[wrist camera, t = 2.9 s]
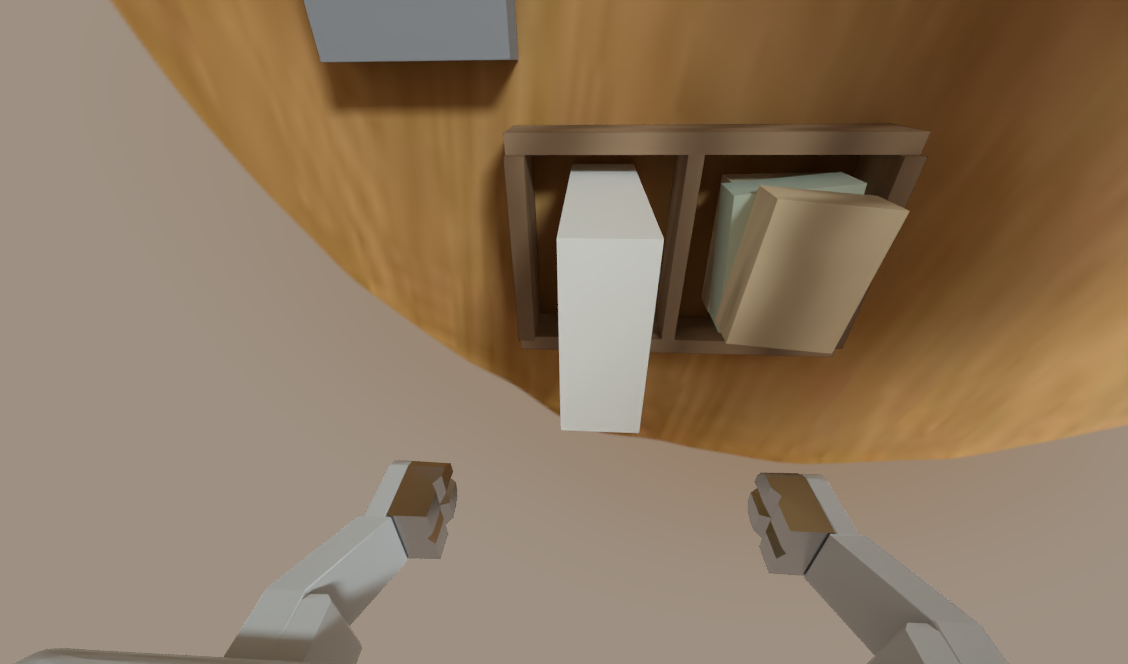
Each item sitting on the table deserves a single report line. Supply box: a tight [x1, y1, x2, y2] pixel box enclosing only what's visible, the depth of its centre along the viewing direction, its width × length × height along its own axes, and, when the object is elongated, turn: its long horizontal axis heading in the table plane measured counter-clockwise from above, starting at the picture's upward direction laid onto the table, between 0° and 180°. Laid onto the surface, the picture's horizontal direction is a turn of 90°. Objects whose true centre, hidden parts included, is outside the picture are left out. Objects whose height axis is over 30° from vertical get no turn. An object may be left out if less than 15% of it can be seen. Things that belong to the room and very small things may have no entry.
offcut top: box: [715, 185, 910, 354], centre depth 20 cm, size 6×8×2 cm
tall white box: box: [557, 164, 664, 433], centre depth 21 cm, size 4×9×12 cm, turn 1°
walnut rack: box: [503, 124, 931, 357], centre depth 24 cm, size 20×13×4 cm, turn 91°
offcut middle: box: [709, 172, 867, 333], centre depth 23 cm, size 6×8×2 cm
